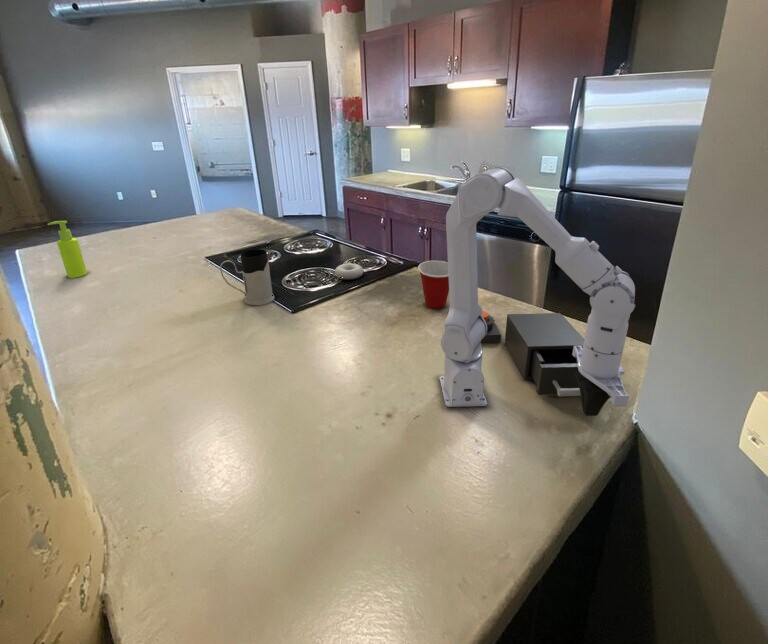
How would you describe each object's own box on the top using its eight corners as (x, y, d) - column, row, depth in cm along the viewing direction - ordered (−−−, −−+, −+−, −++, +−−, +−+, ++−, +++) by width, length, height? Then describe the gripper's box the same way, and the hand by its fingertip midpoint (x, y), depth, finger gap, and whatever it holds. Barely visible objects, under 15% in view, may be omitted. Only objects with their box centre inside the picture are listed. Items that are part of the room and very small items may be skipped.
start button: (489, 323, 103) (490, 317, 103) (475, 323, 103) (475, 317, 103) (485, 316, 107) (486, 310, 106) (471, 317, 107) (472, 310, 106)
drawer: (607, 407, 77) (613, 379, 75) (546, 409, 77) (550, 380, 75) (566, 356, 94) (570, 331, 92) (516, 357, 94) (519, 332, 91)
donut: (341, 270, 151) (330, 279, 142) (341, 261, 150) (329, 270, 141) (367, 272, 148) (357, 282, 139) (367, 263, 147) (357, 272, 138)
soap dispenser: (66, 273, 152) (49, 220, 145) (88, 270, 155) (73, 218, 148) (62, 279, 147) (45, 224, 140) (85, 276, 150) (69, 221, 143)
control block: (500, 342, 102) (502, 328, 100) (468, 343, 101) (468, 328, 100) (490, 323, 111) (491, 309, 109) (460, 323, 111) (461, 310, 109)
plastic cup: (425, 315, 116) (425, 275, 111) (412, 299, 126) (412, 262, 121) (460, 310, 118) (462, 271, 114) (445, 295, 128) (447, 258, 124)
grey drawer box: (583, 378, 87) (590, 345, 84) (524, 380, 87) (528, 346, 84) (556, 342, 101) (560, 312, 98) (504, 344, 101) (507, 314, 98)
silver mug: (276, 302, 126) (270, 255, 120) (226, 310, 121) (218, 262, 116) (272, 291, 133) (266, 247, 128) (225, 299, 129) (217, 253, 123)
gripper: (655, 370, 61) (637, 443, 66) (605, 323, 74) (592, 387, 79) (607, 371, 61) (592, 444, 66) (565, 324, 74) (555, 387, 79)
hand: (589, 413), depth 72 cm, fingers closed
